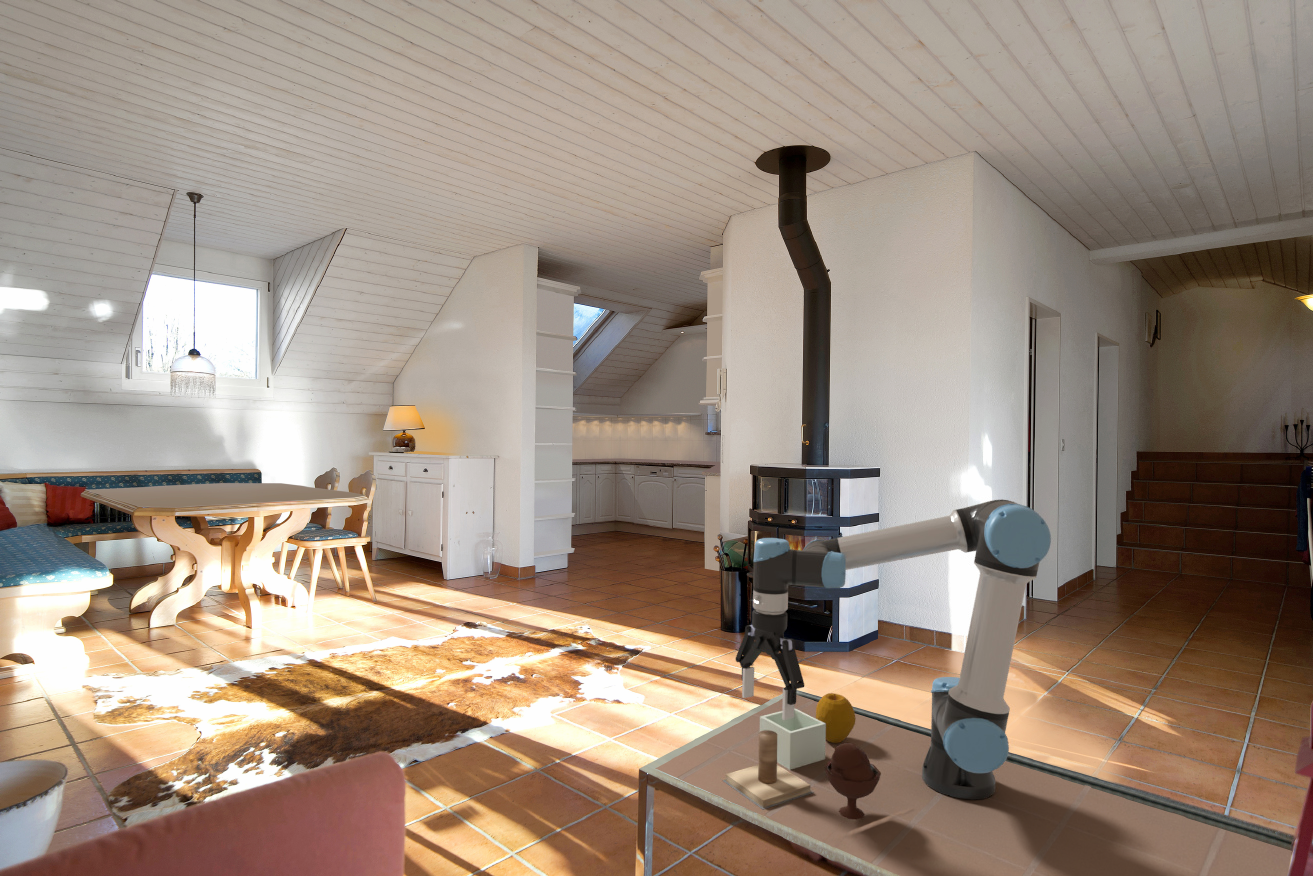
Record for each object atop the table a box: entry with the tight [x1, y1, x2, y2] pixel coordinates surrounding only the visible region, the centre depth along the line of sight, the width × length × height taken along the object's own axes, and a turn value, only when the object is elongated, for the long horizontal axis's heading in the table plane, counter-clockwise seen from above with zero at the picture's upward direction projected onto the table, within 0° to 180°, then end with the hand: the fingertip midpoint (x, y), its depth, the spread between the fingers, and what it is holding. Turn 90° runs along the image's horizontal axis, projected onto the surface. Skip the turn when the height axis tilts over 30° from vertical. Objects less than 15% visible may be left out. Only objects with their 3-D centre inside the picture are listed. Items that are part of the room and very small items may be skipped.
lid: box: [725, 730, 811, 808], centre depth 160 cm, size 13×13×12 cm
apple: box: [815, 692, 856, 744], centre depth 185 cm, size 10×10×12 cm
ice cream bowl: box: [823, 742, 882, 821], centre depth 149 cm, size 11×11×15 cm
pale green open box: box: [759, 708, 827, 771], centre depth 175 cm, size 11×11×9 cm
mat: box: [722, 779, 815, 810], centre depth 160 cm, size 14×14×1 cm
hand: (767, 707), depth 159 cm, fingers open, 13 cm apart
